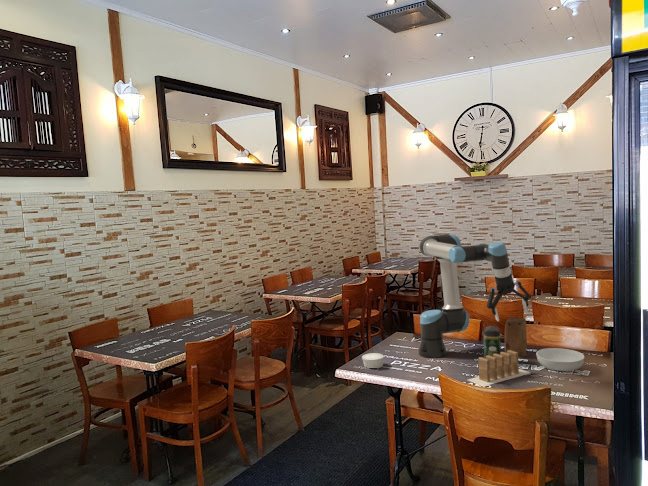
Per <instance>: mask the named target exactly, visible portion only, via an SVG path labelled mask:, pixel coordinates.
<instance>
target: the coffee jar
mask: <svg viewBox="0 0 648 486" xmlns="http://www.w3.org/2000/svg"><path fill="white" fill-rule="evenodd" d="M483 352H484V353H483V354H484V355H483V356H484V358H485V359H486V356H488V355H489V356H492V357H493V354H499V355H500V352H502V351H501V330H500V328H499V327H497V326H496V325H495V326H494V325H488V326H486V327H485V328H484V329H483Z"/></svg>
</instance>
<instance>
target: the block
mask: <svg viewBox="0 0 648 486" xmlns="http://www.w3.org/2000/svg"><path fill="white" fill-rule="evenodd" d="M527 334H528V332H527V321H526V318H523V317H519V316H517V317H516V316H510V317H509V318H507V320H506V322H505V325H504V352H505V353H507V351H508V350H511V351H515V352H518V358H525V357H526V356H527V347H528V346H527V345H528V341H527V340H528V337H527Z"/></svg>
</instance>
